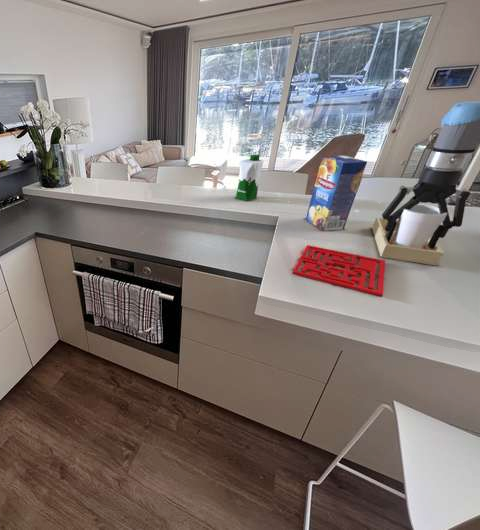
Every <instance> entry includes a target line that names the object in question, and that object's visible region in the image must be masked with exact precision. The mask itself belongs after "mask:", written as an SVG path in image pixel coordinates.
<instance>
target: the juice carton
mask: <svg viewBox="0 0 480 530" xmlns="http://www.w3.org/2000/svg"><path fill="white" fill-rule="evenodd" d="M367 164H368V161H366V160H363V159H359V158H356V157H351V156H348V155H344V154H343V155H330V156H322V157H321V161H320V164H319V168H318V172H317V175H316V179H315V182H314V187H313V190H312V193H311V198H310V201H309V205H308V209H307V212H306V216H305V220H306V221H308V222H309V223H311V224H312V225H313V226H315V227H317V228H318V229H320V230H321V231H336V230H337V231H338V230H340V231H341V230H344V229H345V228H346V224H347V221H348V218H349V216H350V212H351V209H352V206H353V204H354V200H355V197H356V195H357V192H358V189H359V187H360V185H361V180H362V178H363V175H364V172H365V169H366V167H367Z"/></svg>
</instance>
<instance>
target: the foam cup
mask: <svg viewBox="0 0 480 530" xmlns="http://www.w3.org/2000/svg"><path fill="white" fill-rule="evenodd" d="M448 213H449V212H448ZM448 213H446V212H445V213H443V214H440V211H439V207H438V206H435V205H430V204H429V205H428V204H422V203H419V204H417V205H415V206H414V207H412V208H411V209H410V210H408V209H404V210H403V213H402V215H401V217H400V218H398V219H397V220H398V223H397V227H396V231H395V235H394V239H393V243H392V245H396V246H404V247H411V248H419V249H422V248H423V247H424V245H425V244H426V243H427V241H428V240H429V239H430V237H431V236H432V235H433V233H434V232H435V231H436V229H437V228H438V226H439V225H442V222H443V221H444V220H445V218H446V216H447V214H448Z"/></svg>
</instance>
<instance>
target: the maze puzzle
mask: <svg viewBox="0 0 480 530" xmlns="http://www.w3.org/2000/svg"><path fill="white" fill-rule="evenodd" d="M309 250H311V251H310V253H309V255H308V256H307V254H308V252H309ZM315 253H316V254H317V255H316V257H314V256H315ZM322 255H324V256H323V259H322V262H320V259H321V257H322ZM329 256H331V259H330V260H329ZM349 258H351V260H349ZM357 259H358V260H359V261H358V265H356V260H357ZM348 260H349V261H348ZM303 263H304V265H303V267H302V269H301V271H299V270H300V268H301V266H302V264H303ZM377 263H378V264H379V271H378V281H377V290H375V289H374V288H375V287H374V286H375V279H376V271H377V270H376V269H377ZM326 265H327V266H328V267H327V268H326ZM317 266H318V267H319V269H318V268H317ZM336 266H338V267H336ZM339 267H342V268H339ZM350 269H352V270H350ZM385 270H386V260H384V259H379V258H375V257H369V256H365V255H364V256H363V255H360V254H354V253H349V252H344V251H339V250H334V249H329V248H325V247H320V246H315V245H308V244H307V245H306V246H305V248H304V250H303V252H302V254H301V255H300V258H299V259H298V262H297V263H296V265H295V267H294V268H293V270H292V274H293V275H297V276H301V277H304V278H309V279H313V280H317V281H319V282H323V283H328V284H332V285H336V286H339V287H344V288H347V289H352V290H355V291H359V292H363V293H367V294H370V295H375V296H378V297H383V295H384V284H385V272H386V271H385ZM307 272H308V273H307ZM327 273H328V274H327ZM340 273H342V277H339V276H340ZM367 273H369V278H368V285H367V287H365V283H366V277H367ZM318 274H319V275H320V276H319V275H318ZM358 274H360V277H357V275H358ZM348 277H351V278H350V280H349V279H348ZM356 284H358V285H356Z"/></svg>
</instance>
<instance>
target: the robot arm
mask: <svg viewBox="0 0 480 530" xmlns="http://www.w3.org/2000/svg"><path fill="white" fill-rule="evenodd" d="M440 127H441V129H440V131H439V134H438V136H437V138H436V140H435V143H434V145H433V148H432V150H431V152H430V154H429V157H428V159H427V160H426V162H425V166H426V167H424V168H423V169H422V172H421V173H420V176H419V179H418V181H417V183H416V184H415V185H414V186H405V185H401V186H400V187H399V189H398V193H397V194H396V196H395V197H394V198H393V200H392V201H391V202H390V203H389V205H388V206H387V208H385V209H384V211H383V212H382V213H381V218H383V219H385V220H388V221H387V224H386V226H385V231H387V234H386V238H387V241H388V243H389V241H390V239H391V236H392V234H393V232H394V230H395V227H396V225H397V222H396V220H398V219H399V218H400V217H401V215H402V213H403V210H404V209H408V210H410V209H411V208H412V207H414V206H415V205H417V204H422V203H424V204H426V203H427V204H428V203H431V204H437V207H439V211H440V214H443V213H445V212H446V213H448V214H447V216H446V218H445V220H444V221H443V222H441V224H440V225H439V226H438V228H437V229H436V231H435V232H434V233H433V235H432V237H431V239H430V241H429V243H428V246H429V248H431V249H434V247H435V245H436V243H437V244H438V241H439V239H440V238H441V239H444V238H445V237H446V235H447V233H448V232H449V230H450V229H452V228H455V227H456V228H459V227H461V226H462V225H463V219H464V214H465V208H466V202H467V199H469V197H470V195H471V192H470V191H469V190H468V189H465V188H464V189H457V185H458V184H459V183H460V180H461V178H462V176H463V174H464V170H463V169H465V168H467V167H468V165H469V162H470V161H471V158H472V156H473V154H474V152H476V149H477V147H478V145H479V144H480V100H477V101H475V100H474V101H461V102H458V103H455V104H454V105H453V106H452V107H451V109H450V110H449V111H447V113H446V114H445V115H444V116H443V117H442V120H441V122H440ZM411 192H412V193H413V194H414V195H413V196H412V197H411V198H410V199H409V200H408V201H407V202H406V203H404V204H403V205H402V206H401V207H399V205H400V204H401V203H402V201H403V200H404V199H405V197H406V196H408V195H409V194H410V193H411ZM451 196H454V197H455V202H454V210H453V217H452V220H451V218H450V213H449V210H448V206H447V205H448V204H447V199H448V198H450V197H451ZM398 207H399V208H398ZM397 208H398V209H397ZM396 209H397V210H396Z"/></svg>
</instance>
